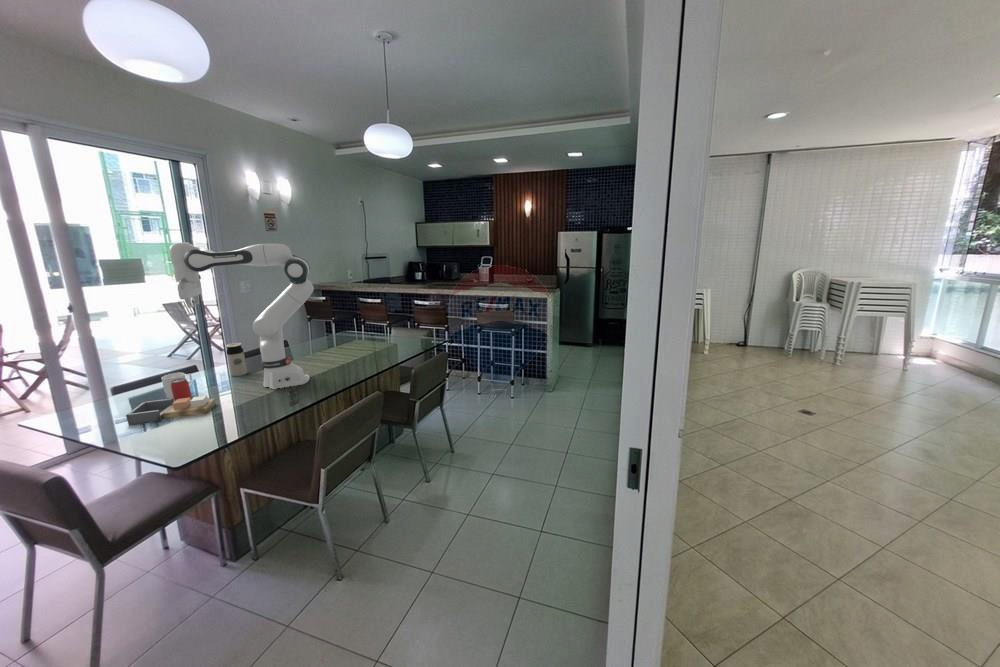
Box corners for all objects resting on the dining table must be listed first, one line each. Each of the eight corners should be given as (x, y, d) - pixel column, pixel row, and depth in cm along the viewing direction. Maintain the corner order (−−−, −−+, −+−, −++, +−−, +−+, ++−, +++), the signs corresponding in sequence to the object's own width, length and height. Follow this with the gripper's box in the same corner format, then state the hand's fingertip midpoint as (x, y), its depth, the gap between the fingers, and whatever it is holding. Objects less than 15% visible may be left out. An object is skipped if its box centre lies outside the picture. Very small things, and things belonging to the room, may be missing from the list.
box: (175, 408, 180) (173, 398, 178) (160, 421, 167) (157, 410, 165) (146, 411, 176) (143, 401, 175) (128, 425, 163) (125, 415, 162)
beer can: (196, 401, 187) (190, 378, 184) (181, 407, 181) (175, 383, 178) (187, 399, 189) (181, 377, 186) (172, 405, 183) (166, 382, 180)
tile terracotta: (191, 403, 177) (190, 397, 177) (187, 407, 173) (185, 401, 172) (178, 405, 176) (177, 399, 175) (173, 409, 171) (172, 403, 170)
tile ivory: (208, 401, 179) (207, 395, 179) (204, 405, 175) (202, 399, 174) (195, 402, 178) (194, 396, 177) (191, 407, 173) (189, 401, 172)
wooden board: (215, 404, 183) (214, 398, 182) (206, 413, 173) (205, 407, 172) (175, 409, 178) (174, 403, 178) (164, 419, 168) (162, 413, 167)
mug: (172, 401, 188) (167, 379, 185) (162, 398, 191) (157, 377, 188) (199, 392, 198) (195, 371, 195) (189, 389, 202) (185, 369, 199)
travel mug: (232, 373, 225) (226, 343, 221) (248, 370, 229) (243, 342, 224) (230, 377, 218) (223, 347, 214) (246, 375, 222) (240, 345, 217)
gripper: (187, 279, 174) (194, 308, 178) (201, 275, 193) (207, 302, 196) (170, 280, 172) (178, 310, 176) (186, 276, 190) (192, 303, 194)
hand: (193, 305), depth 186 cm, fingers open, 8 cm apart
